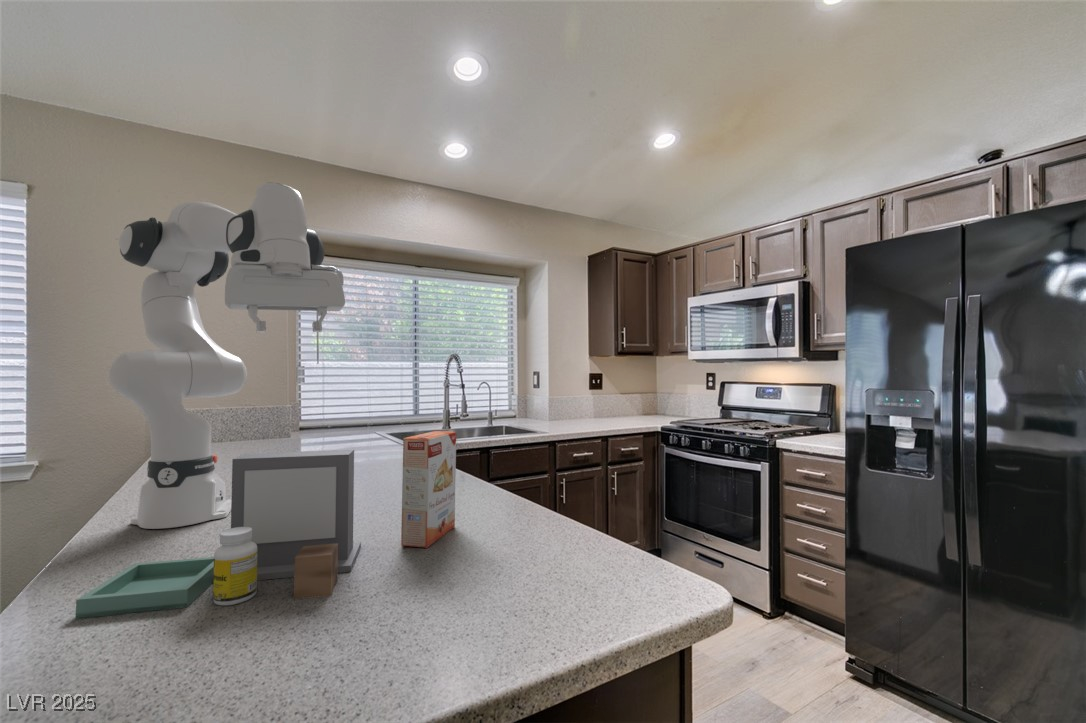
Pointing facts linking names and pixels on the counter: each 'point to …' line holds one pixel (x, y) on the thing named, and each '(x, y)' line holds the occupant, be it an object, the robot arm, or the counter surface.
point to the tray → (149, 588)
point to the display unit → (295, 506)
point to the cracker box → (428, 487)
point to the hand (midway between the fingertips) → (290, 331)
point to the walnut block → (315, 571)
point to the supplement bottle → (235, 567)
